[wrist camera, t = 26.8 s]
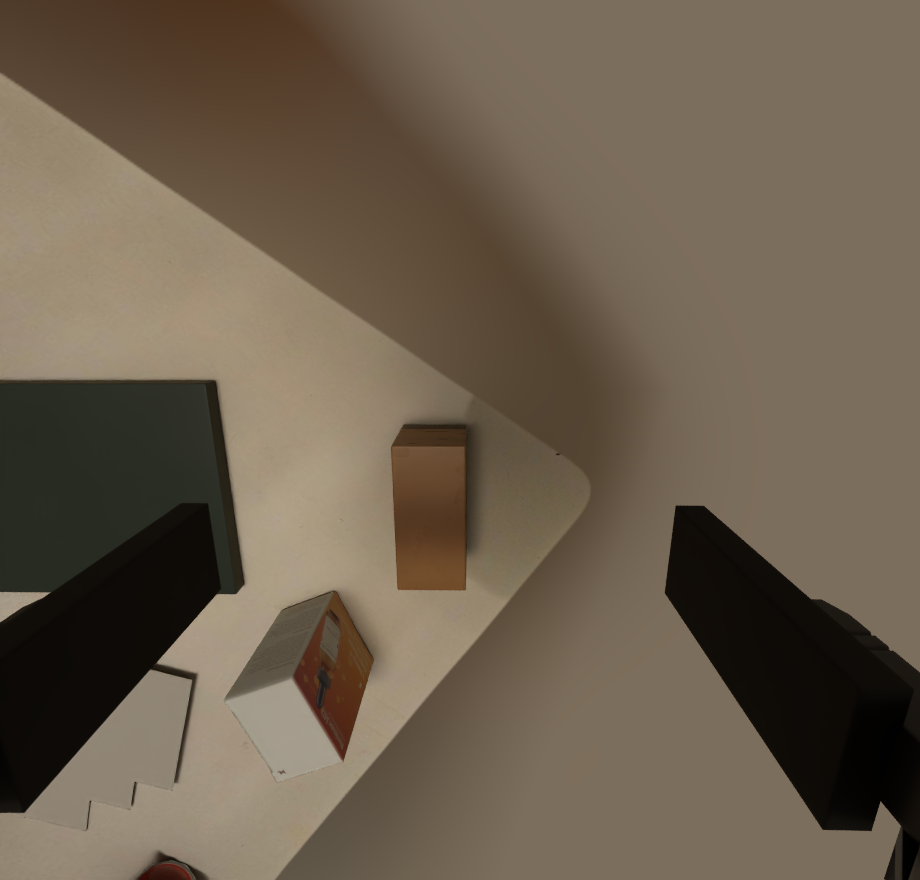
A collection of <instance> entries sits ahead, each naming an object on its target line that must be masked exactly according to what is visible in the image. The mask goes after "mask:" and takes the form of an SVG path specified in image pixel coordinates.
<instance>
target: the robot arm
mask: <svg viewBox="0 0 920 880" xmlns="http://www.w3.org/2000/svg"><path fill="white" fill-rule="evenodd" d="M220 590H221V583H220V577H219V570H218V564H217V557H216V551H215V545H214V538H213V532H212V525H211V519H210V513H209V506H208V503H181V504H179V505H178V506H176V507H175V508H173V509H172V510H170V511H169V512H168V513H166V514H165V515H163V516H162V517H160V518H159V519H157V520H156V521H154V522H153V523H152V524H150V525H149V526H147V527H146V528H144V529H143V530H141V531H140V532H138V533H137V534H135V535H134V536H133V537H131V538H130V539H128V540H127V541H125V542H124V543H122V544H121V545H119V546H118V547H117V548H115V549H114V550H112V551H111V552H109V553H108V554H106V555H105V556H103V557H102V558H101V559H99V560H98V561H96V562H95V563H93V564H92V565H90V566H89V567H87V568H86V569H84V570H83V571H82V572H80V573H79V574H77V575H76V576H74V577H73V578H71V579H70V580H68V581H67V582H66V583H64V584H63V585H61V586H60V587H58V588H57V589H55V590H54V591H52V592H51V593H50V594H48V595H47V596H45V597H44V598H42V599H40V600H37V601H35V602H33V603H31V604H29V605H27V606H25V607H22V608H21V609H19V610H18V611H17V612H15V613H14V614H12V615H11V616H9V617H8V618H6V619H5V620H3V621H2V622H0V813H25V812H26V811H27V809H28V808H29V807H30V806H31V805H32V804H33V803H34V801H35V800H36V799H37V798H38V797H39V796H40V795H41V793H42V792H43V791H44V790H45V789H46V788H47V787H48V786H49V784H50V783H51V782H52V781H53V780H54V779H55V778H56V776H57V775H58V774H59V773H60V772H61V771H62V770H63V768H64V767H65V766H66V765H67V764H68V763H69V762H70V760H71V759H72V758H73V757H74V756H75V755H76V754H77V752H78V751H79V750H80V749H81V748H82V747H83V746H84V745H85V743H86V742H87V741H88V740H89V739H90V738H91V737H92V735H93V734H94V733H95V732H96V731H97V730H98V729H99V727H100V726H101V725H102V724H103V723H104V722H105V721H106V719H107V718H108V717H109V716H110V715H111V714H112V713H113V712H114V710H115V709H116V708H117V707H118V706H119V705H120V704H121V702H122V701H123V700H124V699H125V698H126V697H127V696H128V694H129V693H130V692H131V691H132V690H133V689H134V688H135V686H136V685H137V684H138V683H139V682H140V681H141V680H142V678H143V677H144V676H145V675H146V674H147V673H148V672H149V671H150V669H151V668H152V667H153V666H154V665H155V664H156V663H157V661H158V660H159V659H160V658H161V657H162V656H163V655H164V653H165V652H166V651H167V650H168V649H169V648H170V647H171V645H172V644H173V643H174V642H175V641H176V640H177V639H178V638H179V636H180V635H181V634H182V633H183V632H184V631H185V630H186V628H187V627H188V626H189V625H190V624H191V623H192V622H193V620H194V619H195V618H196V617H197V616H198V615H199V614H200V612H201V611H202V610H203V609H204V608H205V607H206V606H207V605H208V603H209V602H210V601H211V600H212V599H213V598H214V597H215V595H216V594H217V593H218V592H219V591H220ZM665 594H666V595H667V597H668V598H669V600H670V601H671V603H672V604H673V606H674V607H675V609H676V610H677V612H678V613H679V615H680V616H681V618H682V619H683V621H684V622H685V624H686V625H687V627H688V628H689V630H690V631H691V633H692V634H693V636H694V637H695V639H696V640H697V642H698V643H699V645H700V646H701V648H702V649H703V651H704V652H705V654H706V655H707V657H708V658H709V660H710V661H711V663H712V664H713V666H714V667H715V669H716V670H717V672H718V673H719V675H720V676H721V678H722V679H723V681H724V682H725V684H726V685H727V687H728V688H729V690H730V691H731V693H732V694H733V696H734V697H735V699H736V700H737V702H738V703H739V705H740V706H741V708H742V709H743V711H744V712H745V714H746V715H747V717H748V718H749V720H750V721H751V723H752V724H753V726H754V727H755V729H756V730H757V732H758V733H759V735H760V736H761V738H762V739H763V741H764V742H765V744H766V745H767V747H768V748H769V750H770V751H771V753H772V754H773V756H774V757H775V759H776V760H777V762H778V763H779V765H780V766H781V768H782V769H783V771H784V772H785V774H786V775H787V777H788V778H789V780H790V781H791V783H792V784H793V786H794V787H795V789H796V790H797V792H798V793H799V795H800V796H801V798H802V799H803V800H804V802H805V804H806V805H807V807H808V808H809V810H810V811H811V813H812V814H813V816H814V817H815V819H816V820H817V822H818V823H819V825H820V826H821V828H822V829H823V830H855V831H856V830H857V831H872V827H873V824H874V821H875V817H876V814H877V811H878V808H879V804H880V801H881V802H882V803H883V804H884V806H885V807H886V808H887V809H888V810H889V812H890V813H891V814H892V815H893V816H894V818H895V819H896V820H897V821H898V823H899V824H900V825H901V828H900V831H899V834H898V837H897V840H896V844H895V847H894V850H893V853H892V856H891V859H890V862H889V865H888V868H887V871H886V874H885V877H884V879H885V880H920V672H919V671H917V670H916V669H915V668H914V667H912V666H911V665H910V664H909V663H908V662H906V661H905V660H904V659H903V658H901V657H900V656H899V655H898V654H897V653H895V652H894V651H890V650H889V647H888V646H887V645H886V644H884V643H883V642H882V641H881V640H880V639H878V638H877V637H876V636H872V635H871V633H870V631H868V630H867V629H866V628H865V627H864V626H863V625H861V624H860V623H859V622H858V621H857V620H855V619H854V618H853V617H852V616H850V615H849V614H847V613H845V612H843V611H842V610H840V609H838V608H836V607H834V606H832V605H831V604H829V603H827V602H825V601H823V600H814V599H810V598H809V597H807V595H805V594H804V593H803V592H802V591H801V590H799V588H797V587H796V586H795V585H794V584H793V583H792V582H790V581H789V580H788V579H787V578H786V577H785V576H784V575H783V574H781V573H780V572H779V571H778V570H777V569H776V568H775V567H773V566H772V565H771V564H770V563H768V561H766V560H765V559H764V558H763V557H762V556H761V555H760V554H758V553H757V552H756V551H755V550H754V549H753V548H751V547H750V546H749V545H748V544H747V543H746V542H745V541H744V540H742V539H741V538H740V537H739V536H738V535H737V534H735V533H734V532H733V531H732V530H731V529H730V528H729V527H727V526H726V525H725V524H724V523H723V522H722V521H721V520H719V519H718V518H717V517H716V516H715V515H714V514H712V513H711V512H710V511H709V510H708V509H707V508H706V507H705V506H676V508H675V516H674V524H673V532H672V540H671V548H670V556H669V564H668V572H667V579H666V587H665Z"/></svg>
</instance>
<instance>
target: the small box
mask: <svg viewBox="0 0 920 880" xmlns="http://www.w3.org/2000/svg"><path fill="white" fill-rule="evenodd" d="M372 664H373V659H372V657H371V656H370V654H369V652H368V651H367V649H366V647H365V646H364V644H363V642H362V640H361V638H360V636H359V635H358V633H357V631H356V629H355V627H354V625H353V623H352V621H351V620H350V618H349V616H348V614H347V612H346V610H345V608H344V606H343V605H342V603H341V601H340V598H339V597H338V595H337V593H336V592H335V591H334V592H331V593H328V594H325V595H323V596H320V597H317V598H314V599H311V600H309V601H306V602H303V603H300V604H298V605H295V606H292V607H290V608H287V609H284V610H282V611H281V612H280V614H279V615H278V617H277V618H276V620H275V621H274V623H273V624H272V626H271V627H270V629H269V631H268V632H267V634H266V635H265V637H264V638H263V640H262V641H261V643H260V644H259V646H258V647H257V649H256V651H255V652H254V654H253V655H252V657H251V658H250V660H249V661H248V663H247V665H246V666H245V668H244V669H243V671H242V672H241V674H240V676H239V677H238V679H237V680H236V682H235V683H234V685H233V686H232V688H231V690H230V691H229V693H228V694H227V696H226V697H225V699H224V702H225V704H226V705H227V707H228V708H229V710H230V711H231V712H232V713H233V714H234V716H235V717H236V719H237V720H238V722H239V723H240V725H241V726H242V728H243V729H244V731H245V732H246V734H247V735H248V737H249V738H250V740H251V741H252V743H253V744H254V746H255V747H256V749H257V750H258V752H259V753H260V755H261V757H262V758H263V760H264V761H265V763H266V765H267V766H268V768H269V769H270V771H271V773H272V775H273V777H274V779H275V781H276V782H281V781H284V780H287V779H291V778H294V777H297V776H300V775H304V774H307V773H310V772H313V771H316V770H320V769H323V768H326V767H329V766H332V765H335V764H338V763H341V762H343V761H344V758H345V754H346V751H347V748H348V744H349V741H350V738H351V734H352V731H353V728H354V724H355V721H356V717H357V714H358V711H359V708H360V704H361V701H362V697H363V694H364V691H365V688H366V684H367V681H368V677H369V674H370V670H371V667H372Z"/></svg>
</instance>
